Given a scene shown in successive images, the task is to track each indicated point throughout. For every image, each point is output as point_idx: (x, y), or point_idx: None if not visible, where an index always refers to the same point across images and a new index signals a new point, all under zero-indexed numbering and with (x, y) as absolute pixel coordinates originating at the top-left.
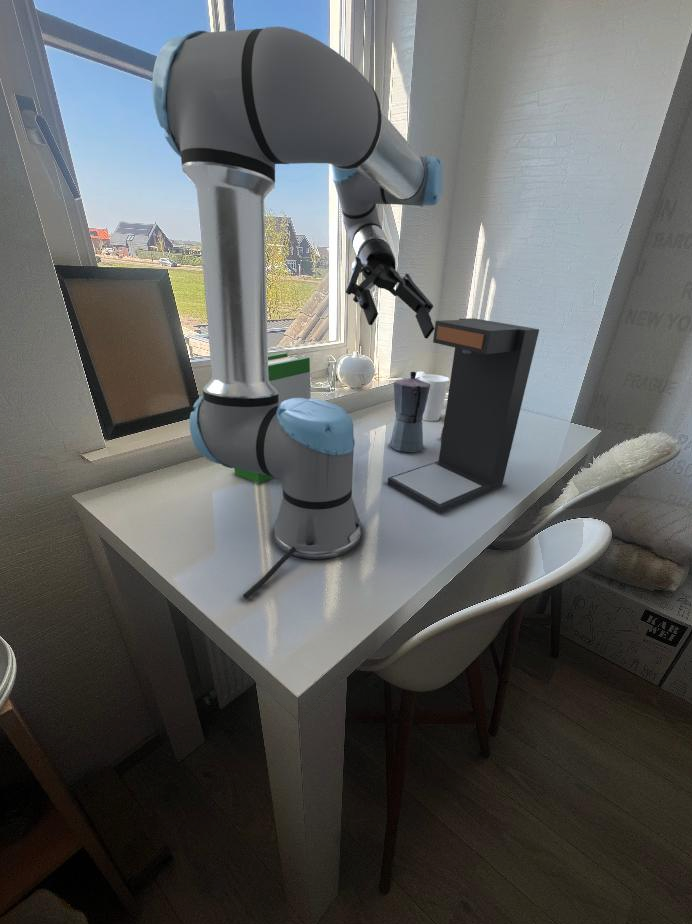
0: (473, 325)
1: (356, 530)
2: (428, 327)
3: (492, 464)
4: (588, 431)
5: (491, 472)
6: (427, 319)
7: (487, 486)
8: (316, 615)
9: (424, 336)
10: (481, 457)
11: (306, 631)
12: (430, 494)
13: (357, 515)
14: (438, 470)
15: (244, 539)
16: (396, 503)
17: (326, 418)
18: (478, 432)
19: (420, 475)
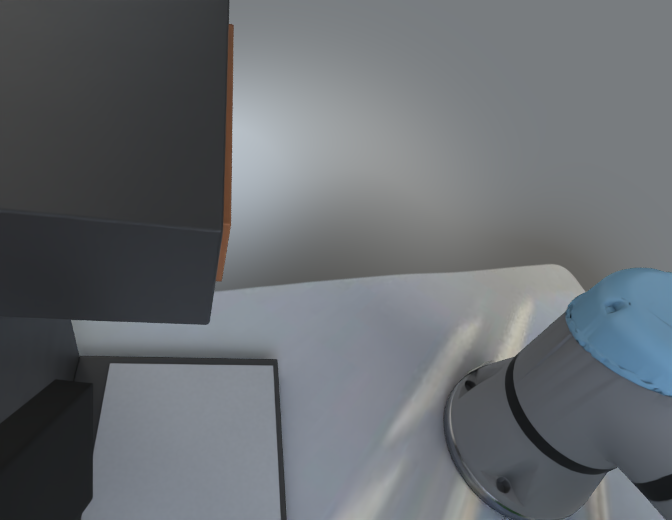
0: (130, 50)
1: (477, 368)
2: (70, 439)
3: (70, 333)
4: None
5: (73, 344)
6: (7, 472)
7: (95, 356)
8: (541, 310)
9: (86, 502)
10: (59, 367)
11: (552, 301)
12: (260, 404)
13: (467, 392)
14: (117, 501)
15: (628, 500)
16: (327, 451)
17: (669, 285)
18: (39, 357)
19: (197, 504)
